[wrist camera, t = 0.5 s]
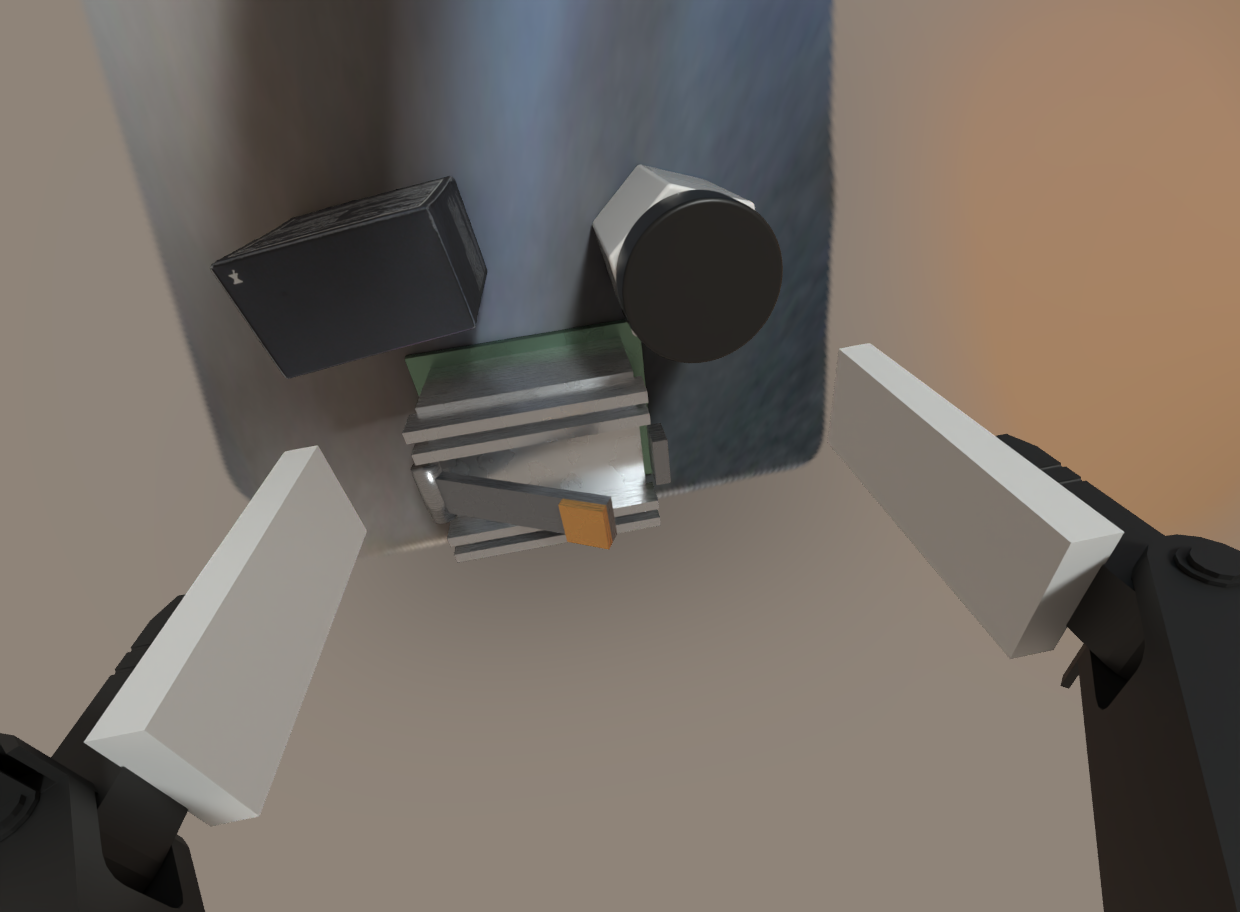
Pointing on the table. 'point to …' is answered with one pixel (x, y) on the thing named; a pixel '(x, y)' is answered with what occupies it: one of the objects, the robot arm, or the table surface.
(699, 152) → the table surface
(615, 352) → the heatsink
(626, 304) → the jar
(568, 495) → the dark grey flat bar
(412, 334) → the small box
